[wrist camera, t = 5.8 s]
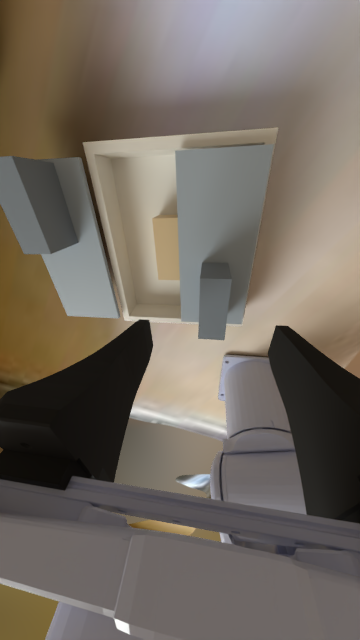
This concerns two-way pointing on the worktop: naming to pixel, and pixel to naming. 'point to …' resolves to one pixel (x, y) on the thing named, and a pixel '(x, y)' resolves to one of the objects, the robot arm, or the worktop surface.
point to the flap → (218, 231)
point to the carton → (151, 214)
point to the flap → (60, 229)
